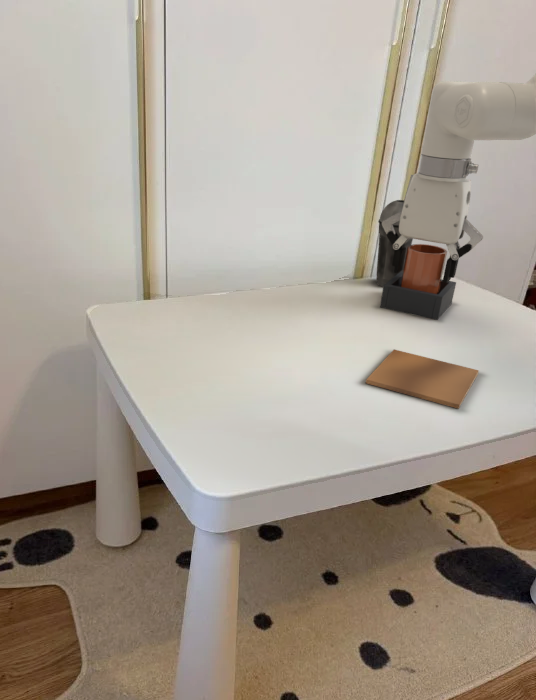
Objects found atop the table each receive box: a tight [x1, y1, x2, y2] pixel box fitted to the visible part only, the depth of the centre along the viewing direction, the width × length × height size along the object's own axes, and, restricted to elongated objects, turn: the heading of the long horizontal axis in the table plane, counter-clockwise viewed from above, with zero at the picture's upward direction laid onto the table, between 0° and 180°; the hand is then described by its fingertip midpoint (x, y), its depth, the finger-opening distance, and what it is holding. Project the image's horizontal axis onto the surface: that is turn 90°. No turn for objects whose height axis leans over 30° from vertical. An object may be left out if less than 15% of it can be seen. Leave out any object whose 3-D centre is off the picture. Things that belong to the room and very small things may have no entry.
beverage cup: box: [375, 174, 414, 287], centre depth 116 cm, size 7×7×20 cm
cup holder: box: [379, 272, 457, 321], centre depth 110 cm, size 10×10×4 cm
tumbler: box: [400, 243, 448, 294], centre depth 109 cm, size 6×6×10 cm
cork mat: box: [365, 349, 480, 410], centre depth 84 cm, size 12×12×1 cm
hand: (422, 275), depth 108 cm, fingers open, 7 cm apart
